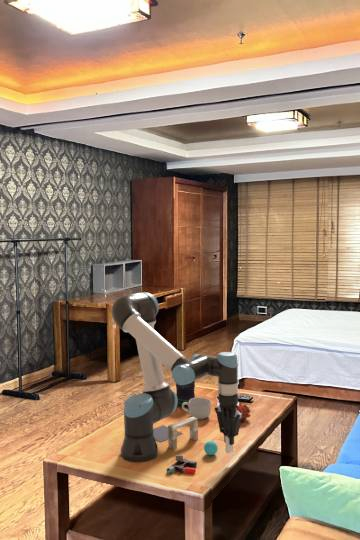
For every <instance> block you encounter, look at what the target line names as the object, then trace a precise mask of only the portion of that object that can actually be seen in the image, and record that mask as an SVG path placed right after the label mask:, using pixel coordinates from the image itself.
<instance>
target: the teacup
mask: <svg viewBox="0 0 360 540" xmlns="http://www.w3.org/2000/svg"><path fill="white" fill-rule="evenodd" d="M185 404H187V405H188V407H189V408H188V409H187V408H184V405H185ZM211 407H212V401H211V400H210V399H209V398H206V397H202V396H201V397H195V398H192V399H190V400H189V403H188V402H184V403H183V404H182V408H181V409H182V410H183V411H184V412H186V413H187V415H190V416H191V417H195V418H198V420H205V419H207V418H208V417H209V416H210V415H211V409H212V408H211Z"/></svg>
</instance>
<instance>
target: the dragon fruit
mask: <svg viewBox="0 0 360 540" xmlns="http://www.w3.org/2000/svg"><path fill="white" fill-rule="evenodd" d="M237 407H238V411H239V412H240V413H243V416H242V418H241V421H242V422H243V423H244V422H246V421H247V418H250V417H251V414H250V413H251V410H250V407H249V406H248V405H247V404H246V403H244V404H241V403H239V402H238V404H237ZM235 415H236V414H235Z"/></svg>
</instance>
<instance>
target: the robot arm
mask: <svg viewBox="0 0 360 540" xmlns="http://www.w3.org/2000/svg"><path fill="white" fill-rule="evenodd" d="M159 308H160V307H159V302H158V299H157V298H156V297H155V296H154V295H153V294H151V293H150V292H146V291H145V292H144V291H143V292H137V293H131V294H127V295H126V294H125V295H121V296H119V297H117V298H116V299H115V301H114V302H113V304H112V305H111V316H112V319H113V321H114V323H115V324H116V325H117V327H118V328H119V329H120V330H122V331H123V332H124V333H128V334H130V335H131V336H132V337H133V338H134V339H135V342H136V346H137V353H138V358H139V363H140V367H141V372H142V376H143V377H142V379H143V382H144V387H143V388H142V389H141V391H142V393H137V394H132V395H129V396H128V397H127V398H126V399H125V400H124V403H123V421H124V422H123V423H124V425H123V426H124V437H123V441H122V445H121V448H120V456H121V458H122V459H124V460H125V461H127V462H131V463H132V462H136V463H140V462H141V463H142V462H143V463H144V462H147V461H151V460H154V459H155V458H156V457H157V456H158V455H159V447H158V446H159V445H158V444H157V441H156V440H155V438H154V435H153V429H154V424H156V423H157V422H159V421H161V420H163V419H166V418H168V417H169V416H171V415H172V414H173V413H175V412H176V410H177V408H178V407H177V404H178V399H177V395H176V392H175V391H174V389H173V388H171V386H170V384H169V383H168V382H167V381H166V380H165V377H164V371H163V366H162V364H163V365H164V366H165V367H166V368H167V369H169V370H170V372H171V377H172V379H173V382H174V383H175V384H176V383H177V384H178V385H186V384H189V383H192V382H193V381H195V382H196V381H197V380H199V379H201V378H203V377H205V376H210V377H211V376H212V377H217V379H218V380H217V382H218V384H217V385H218V386H217V387H218V390H217V391H218V403H219V405H218V406H216V407H214V411H215V413H216V418H217V422H218V423H217V424H218V429H219V432H220V433H222V434H223V441H224V443H225V453H227V454H231V453H232V452H234V444H235V437H237V436H238V435H239V432H240V428H241V427H240V426H241V421H242V420H241V418H242V416H243V413H240V412H239V411H238V407H237V406H238V404H239V393H238V392H239V389H238V388H239V385H238V384H239V383H238V380H239V379H238V366H239V364H238V356H237V354H236V353H235V352H232V351H221V352H219V353H218V354H217V356H214V355H208V354H207V355H206V354H203V353H200V354H198V353H196V354H193V355H192V357H191V358H190V360H189V359H188V358H187V357H186V356H185V355H184V354H183V353H181V352H180V351H179V350H178V349H176V348H175V346H173V345H172V343H170V342H168V340H167V339H165V338H164V337H163V336H162V335H161V334H160V333H159V332H157V331H156V330H155V324H156V322H157V319H156V317H157V314H158V312H159ZM235 414H236V415H235Z"/></svg>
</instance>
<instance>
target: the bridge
mask: <svg viewBox="0 0 360 540" xmlns="http://www.w3.org/2000/svg"><path fill="white" fill-rule="evenodd" d="M188 425H189V439H191V440H193V441H196V440H198V439H199V419H198V418H195V417H192V416H191V417H188V418H186V419H182V420H180V421H177V422H174V423H172V424H169V425H168V426H167V427H168V439H167V441H168V442H167V443H168V448H170V449H172V450H175V449H177V447H178V436H177V431H178V430H179V429H181V428H184V427H186V426H188Z"/></svg>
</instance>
